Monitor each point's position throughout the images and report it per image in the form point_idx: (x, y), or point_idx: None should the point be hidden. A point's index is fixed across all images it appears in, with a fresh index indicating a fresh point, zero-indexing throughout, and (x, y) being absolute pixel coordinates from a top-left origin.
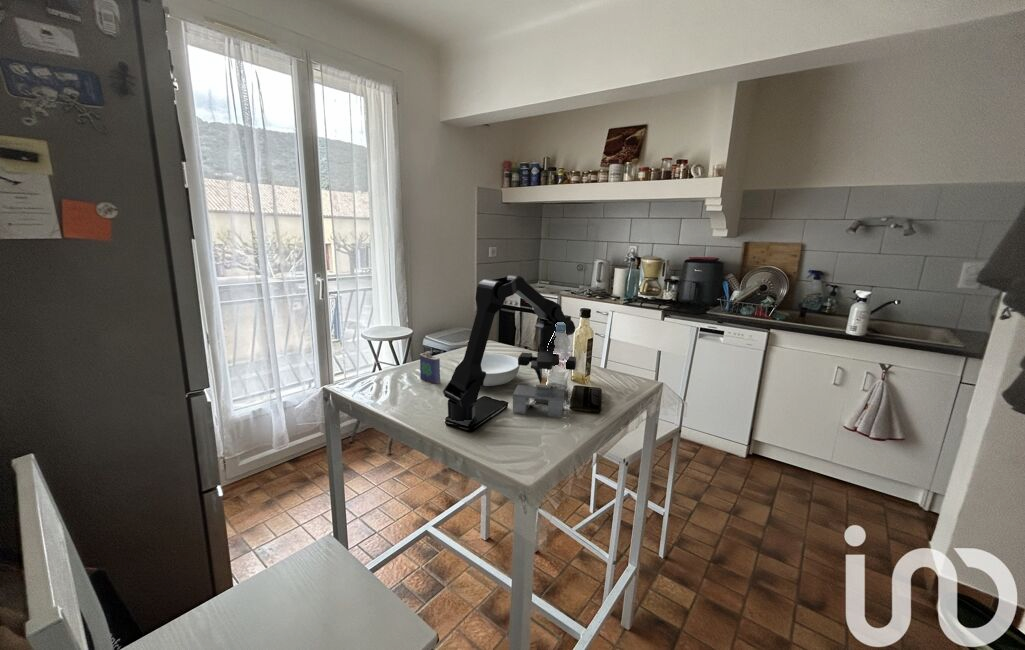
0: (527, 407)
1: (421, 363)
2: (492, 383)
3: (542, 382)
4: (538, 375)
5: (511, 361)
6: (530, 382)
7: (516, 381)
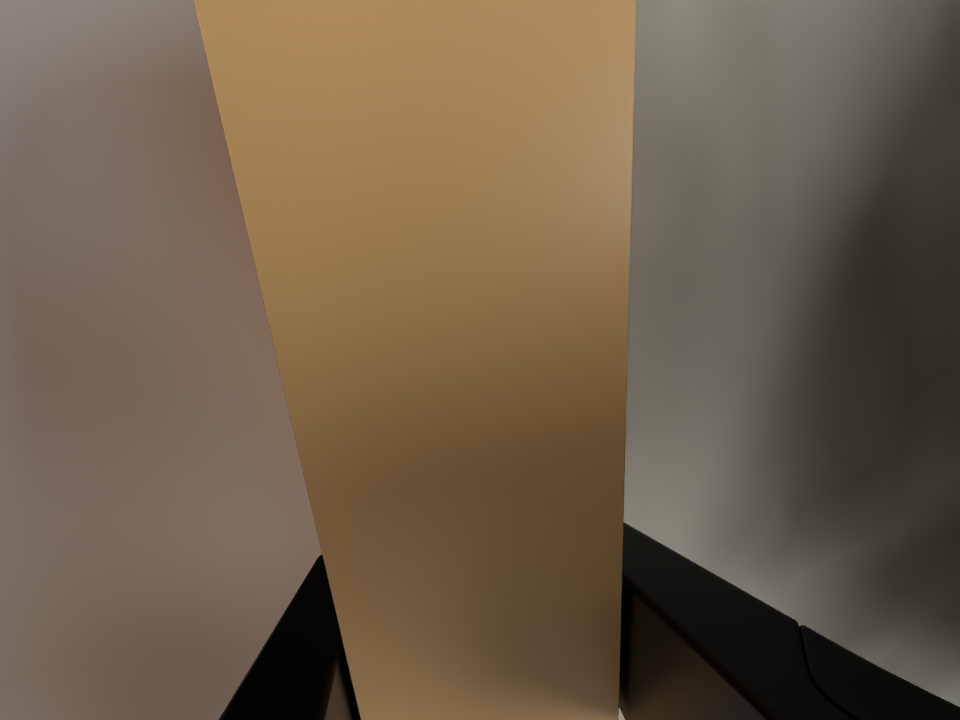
0: None
1: None
2: None
3: (569, 412)
4: (812, 659)
5: None
6: (751, 594)
7: (953, 533)
